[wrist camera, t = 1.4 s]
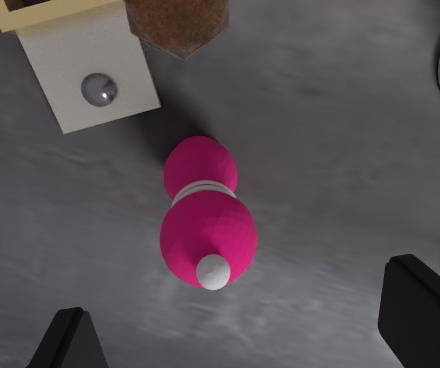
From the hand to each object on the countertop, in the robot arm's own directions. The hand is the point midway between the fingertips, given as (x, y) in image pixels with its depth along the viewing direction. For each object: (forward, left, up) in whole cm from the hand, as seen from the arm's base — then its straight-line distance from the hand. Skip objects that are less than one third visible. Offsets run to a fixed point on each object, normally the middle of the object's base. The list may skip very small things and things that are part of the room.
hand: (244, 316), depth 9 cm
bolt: (-1, -11, -25) cm, 27 cm away
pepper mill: (+1, +2, -25) cm, 25 cm away
